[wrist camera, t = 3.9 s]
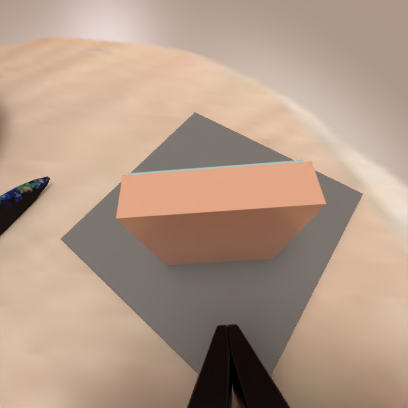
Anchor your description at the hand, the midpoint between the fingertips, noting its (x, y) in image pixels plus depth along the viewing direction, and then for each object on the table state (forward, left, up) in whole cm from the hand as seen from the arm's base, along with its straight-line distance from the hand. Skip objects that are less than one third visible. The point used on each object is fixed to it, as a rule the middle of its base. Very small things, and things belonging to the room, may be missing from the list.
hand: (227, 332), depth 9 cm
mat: (+5, -6, -7) cm, 10 cm away
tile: (+3, -4, -6) cm, 8 cm away
